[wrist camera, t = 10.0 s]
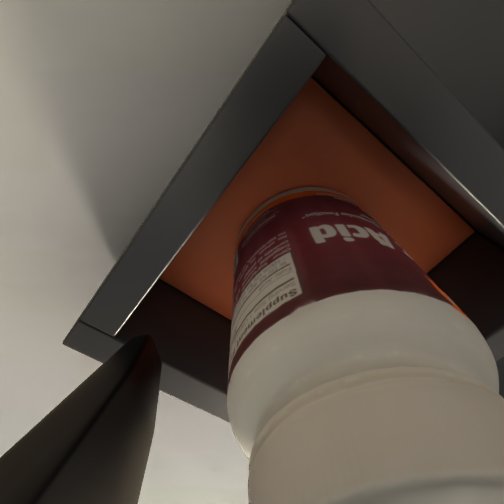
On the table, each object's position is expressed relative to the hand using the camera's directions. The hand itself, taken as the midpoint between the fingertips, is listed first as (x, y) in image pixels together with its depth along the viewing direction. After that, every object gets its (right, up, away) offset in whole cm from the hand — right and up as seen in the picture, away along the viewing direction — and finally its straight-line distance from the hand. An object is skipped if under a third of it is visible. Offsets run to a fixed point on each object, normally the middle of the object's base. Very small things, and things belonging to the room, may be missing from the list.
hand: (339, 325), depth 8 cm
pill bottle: (0, +2, +4) cm, 4 cm away
